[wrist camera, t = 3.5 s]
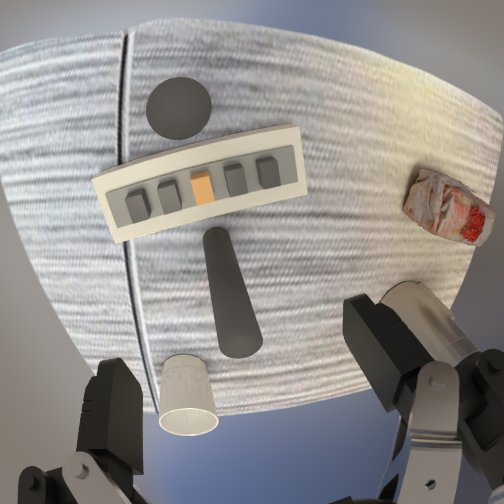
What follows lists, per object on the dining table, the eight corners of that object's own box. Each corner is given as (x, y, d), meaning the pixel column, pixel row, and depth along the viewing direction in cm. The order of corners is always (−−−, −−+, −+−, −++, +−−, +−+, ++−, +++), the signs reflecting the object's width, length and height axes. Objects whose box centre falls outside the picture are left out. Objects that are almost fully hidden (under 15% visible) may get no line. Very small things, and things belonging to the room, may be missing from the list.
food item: (393, 215, 37) (440, 249, 29) (411, 160, 34) (465, 183, 25) (449, 229, 41) (491, 259, 32) (465, 184, 37) (511, 208, 29)
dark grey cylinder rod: (226, 224, 33) (259, 322, 19) (232, 247, 34) (265, 351, 21) (200, 231, 33) (214, 334, 19) (206, 254, 34) (225, 362, 20)
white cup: (199, 345, 41) (206, 403, 32) (216, 376, 45) (226, 428, 36) (149, 358, 40) (148, 415, 32) (171, 387, 44) (174, 439, 36)
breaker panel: (289, 123, 29) (308, 129, 24) (297, 185, 32) (316, 201, 28) (99, 171, 27) (84, 186, 22) (120, 231, 31) (110, 254, 26)
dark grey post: (196, 87, 25) (204, 70, 12) (202, 116, 27) (217, 131, 13) (165, 95, 25) (140, 87, 11) (172, 123, 27) (154, 147, 13)
